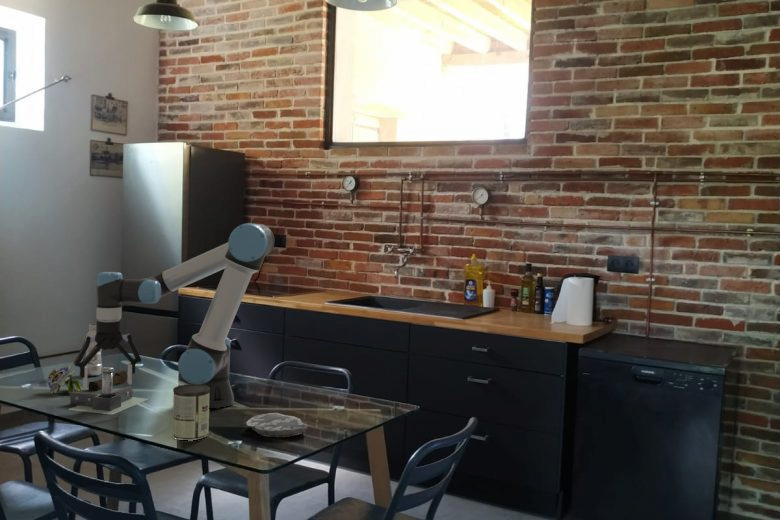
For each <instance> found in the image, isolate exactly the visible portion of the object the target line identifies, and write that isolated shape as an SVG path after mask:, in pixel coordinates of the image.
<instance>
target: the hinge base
mask: <svg viewBox="0 0 780 520" xmlns="http://www.w3.org/2000/svg"><path fill="white" fill-rule="evenodd" d="M69 397H70V399H69V400H70V401H69V404H70V405H72V406H78V405H79V406H88V407H93V410H103V411H112V410H114V409H117V408H119V407H121V394H112V397H111V398H104V397H102V393H101V394H99V393H89V392H81V391H80V392H77V391H74V392H70V395H69Z"/></svg>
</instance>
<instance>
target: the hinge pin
mask: <svg viewBox="0 0 780 520" xmlns="http://www.w3.org/2000/svg"><path fill="white" fill-rule="evenodd" d="M114 371H115V367H114V366H102V368H101V372H102V373H101V379H102V389H101V394H102V397H104V398H111V397H112V392H113V385H112V383H113V376H114V374H113V373H114Z"/></svg>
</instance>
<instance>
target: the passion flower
mask: <svg viewBox="0 0 780 520" xmlns="http://www.w3.org/2000/svg"><path fill="white" fill-rule="evenodd" d="M71 368H72V365H71V364H68V365H67V367H65V366H64V367H61V368H60V369H59V370H58V369H57V368H54V369H52V371H50V372H49V374H48V376H47V377H48V379H49V380H47V381H46V383H47V384H48V386H49V389H50V391H49V392H51V393H50V394H51V395H54V394H57V393H58V392H59V391H60V389H61V387H64V386H66V387H67V390H68V394H69V396H70V392H75V391H76V392H81V390H82V387H83V384H82V383H81V382H80V381H81V380H83V378H80V379H73V375H74V374H75V370H72V371H71Z"/></svg>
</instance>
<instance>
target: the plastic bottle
mask: <svg viewBox="0 0 780 520" xmlns="http://www.w3.org/2000/svg"><path fill="white" fill-rule="evenodd" d="M88 330H89V331H88V332H87V333H86V335H85V337H86V336H87V335H88V336H91V337H95V335H96V323H89V324H88ZM85 337H84V338H85ZM96 344H97V343H96V341H95V340H94V341H93V342H92V343H90V345H89V347H88V349H87V351H86V353H85V357H86V356H87V355H88V354H89V353H90V352H91V351H92V349H93V348H94V347H95V345H96ZM102 350H103V349H102V348H101V350H100V351H98V352H97V354H96V355H95V356H94V357H93V358H92V359H91V360H90V362H89V363H88V364H87V365H86V367H87V368H88V370H87V376H91V377H95V376H100V375H102V372H101V368H103V363H102Z"/></svg>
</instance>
